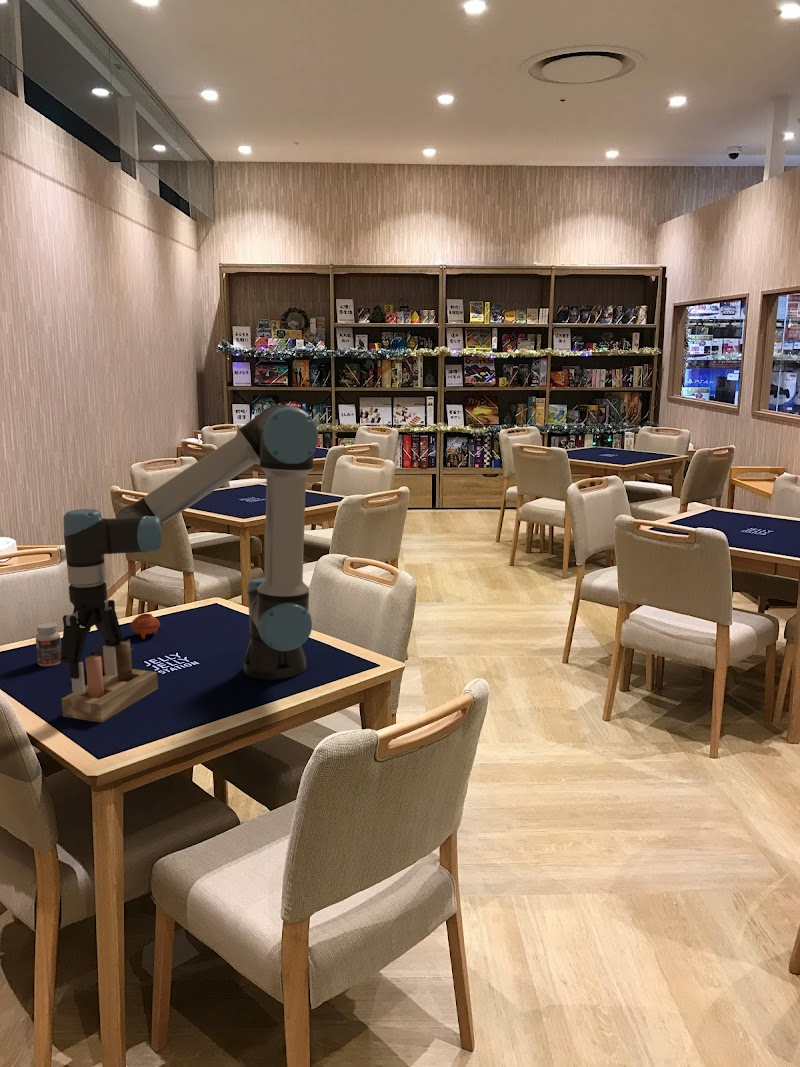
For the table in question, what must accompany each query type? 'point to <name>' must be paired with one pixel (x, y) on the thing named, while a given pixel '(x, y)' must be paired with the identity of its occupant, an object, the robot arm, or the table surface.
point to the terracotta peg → (94, 677)
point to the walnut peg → (124, 662)
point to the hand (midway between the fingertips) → (95, 682)
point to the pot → (145, 624)
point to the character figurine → (99, 652)
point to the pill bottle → (48, 644)
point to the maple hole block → (110, 697)
